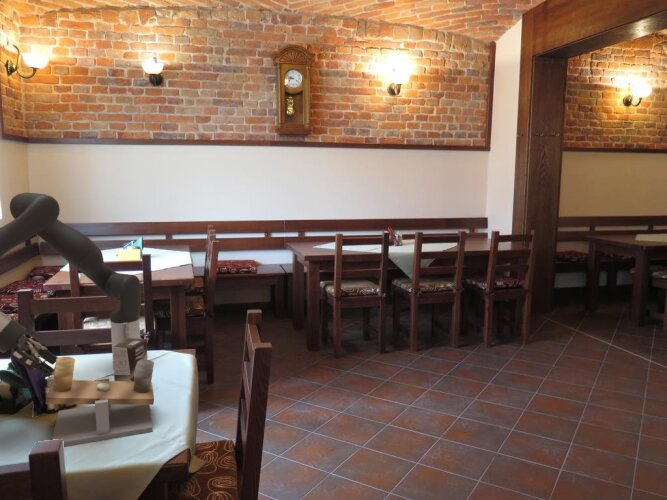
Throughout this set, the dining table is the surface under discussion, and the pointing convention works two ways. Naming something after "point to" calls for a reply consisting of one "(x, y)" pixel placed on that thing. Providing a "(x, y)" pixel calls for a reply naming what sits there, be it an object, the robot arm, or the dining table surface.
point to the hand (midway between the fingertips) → (53, 367)
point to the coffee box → (128, 358)
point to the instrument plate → (100, 386)
